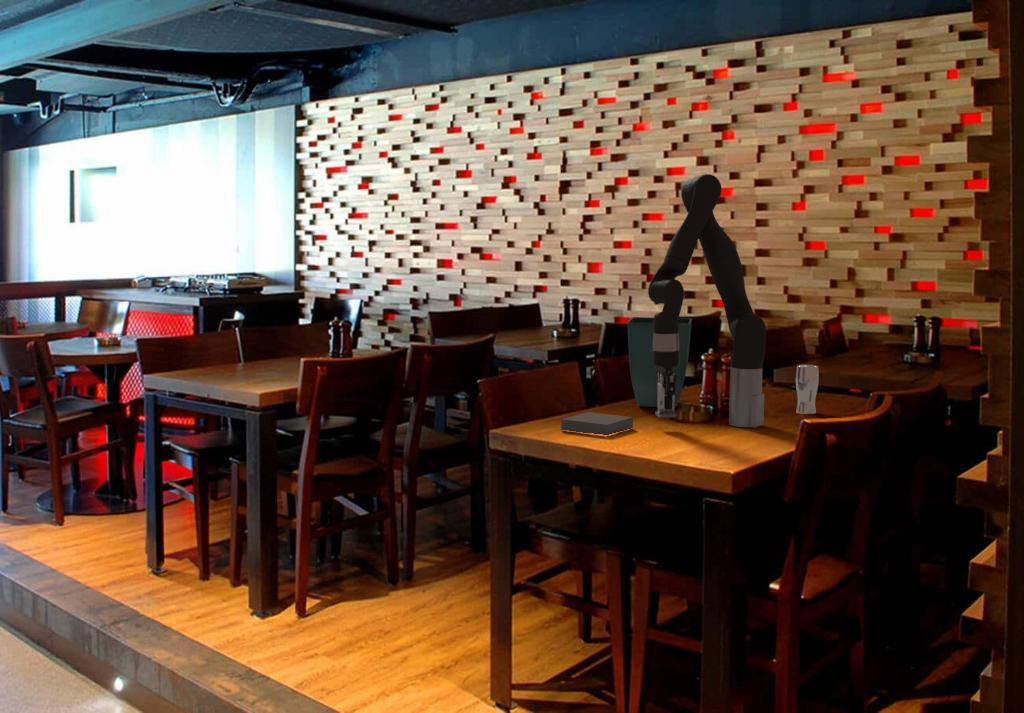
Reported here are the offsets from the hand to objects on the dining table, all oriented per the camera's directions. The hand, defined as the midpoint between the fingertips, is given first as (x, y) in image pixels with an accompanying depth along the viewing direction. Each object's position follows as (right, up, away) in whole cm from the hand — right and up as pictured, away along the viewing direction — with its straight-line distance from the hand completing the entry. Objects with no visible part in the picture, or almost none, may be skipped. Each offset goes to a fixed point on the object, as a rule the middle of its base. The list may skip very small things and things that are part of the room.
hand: (666, 407), depth 293 cm
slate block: (-20, -7, 0) cm, 21 cm away
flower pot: (+4, -2, +46) cm, 46 cm away
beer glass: (+49, -3, +31) cm, 58 cm away
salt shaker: (0, -2, 0) cm, 2 cm away
